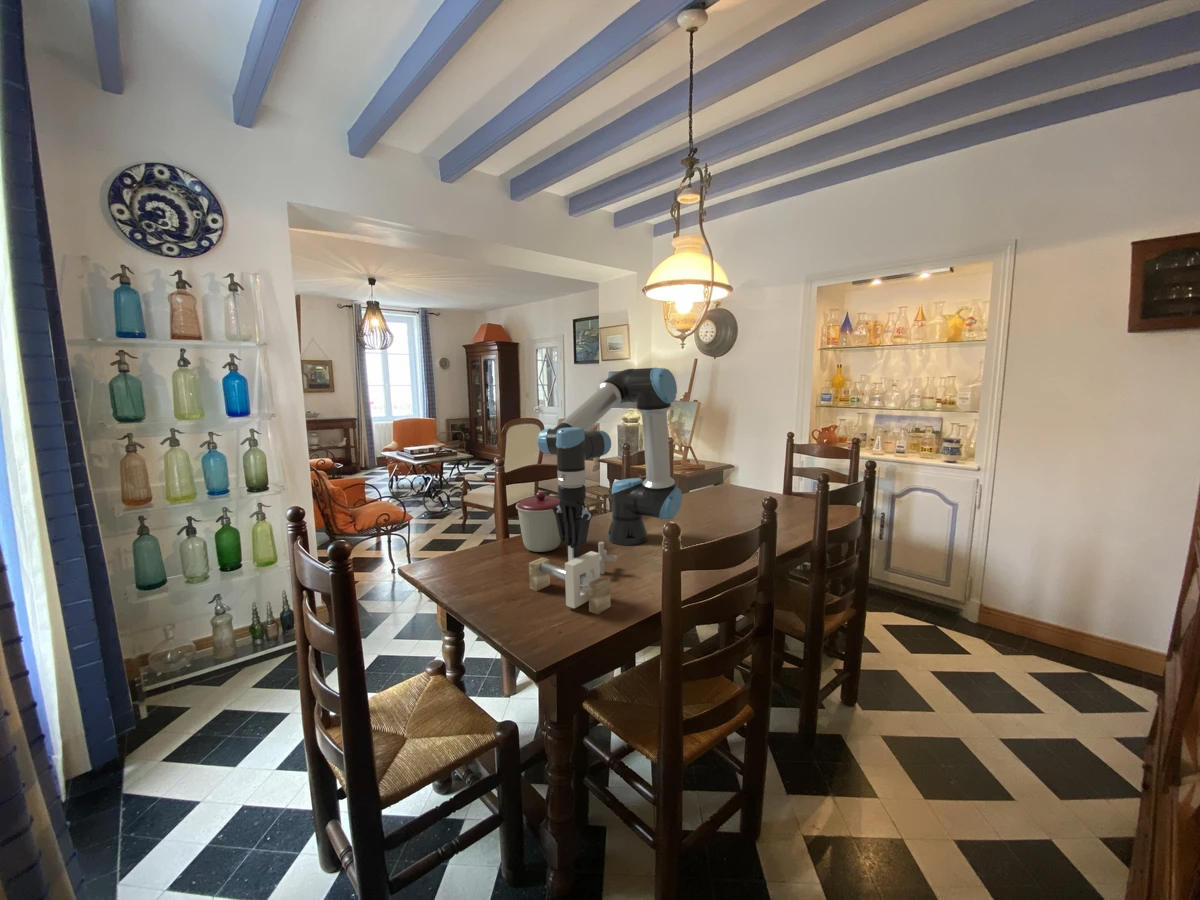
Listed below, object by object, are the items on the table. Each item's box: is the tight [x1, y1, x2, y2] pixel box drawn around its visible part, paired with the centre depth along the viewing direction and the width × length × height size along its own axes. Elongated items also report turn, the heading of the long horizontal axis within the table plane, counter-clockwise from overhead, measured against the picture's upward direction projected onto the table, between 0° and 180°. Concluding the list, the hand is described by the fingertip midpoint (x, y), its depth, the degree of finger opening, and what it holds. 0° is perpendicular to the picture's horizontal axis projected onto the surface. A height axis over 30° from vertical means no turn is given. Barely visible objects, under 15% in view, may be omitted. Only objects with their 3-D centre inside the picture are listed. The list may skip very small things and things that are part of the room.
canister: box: [515, 491, 562, 553], centre depth 174 cm, size 18×18×21 cm
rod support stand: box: [528, 557, 612, 615], centre depth 135 cm, size 26×6×8 cm, turn 51°
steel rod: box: [539, 562, 595, 589], centre depth 134 cm, size 25×3×3 cm, turn 51°
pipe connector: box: [597, 541, 618, 575], centre depth 151 cm, size 10×10×10 cm
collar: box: [564, 550, 601, 609], centre depth 131 cm, size 3×11×12 cm, turn 141°
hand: (573, 567), depth 132 cm, fingers closed
